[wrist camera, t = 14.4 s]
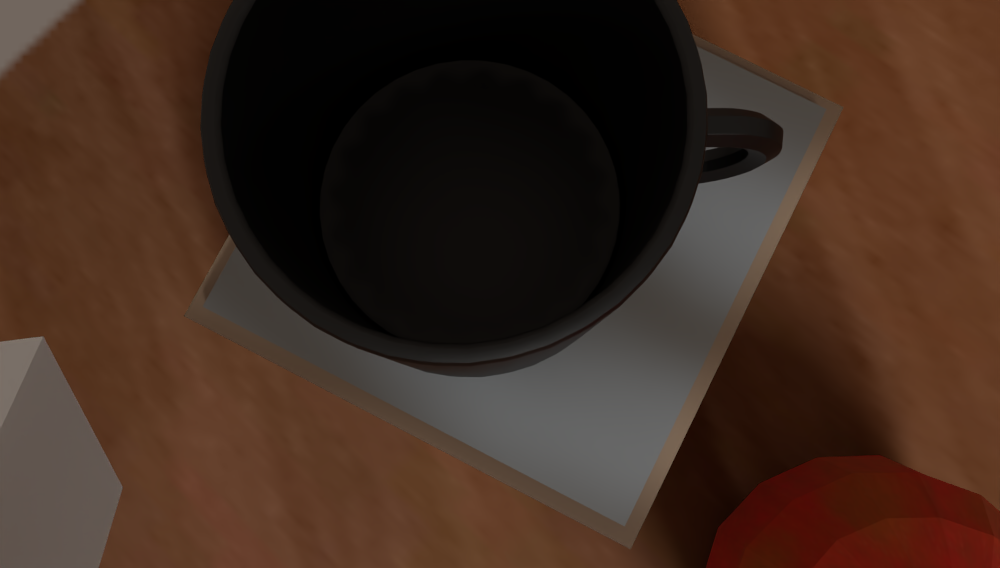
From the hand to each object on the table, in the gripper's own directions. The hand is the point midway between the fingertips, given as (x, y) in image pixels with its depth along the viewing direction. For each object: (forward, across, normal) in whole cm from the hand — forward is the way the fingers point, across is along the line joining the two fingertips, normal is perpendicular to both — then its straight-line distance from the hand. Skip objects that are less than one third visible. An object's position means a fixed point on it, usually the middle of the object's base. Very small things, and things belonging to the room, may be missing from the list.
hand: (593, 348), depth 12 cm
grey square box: (+20, 0, -13) cm, 23 cm away
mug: (+13, 0, -6) cm, 15 cm away
